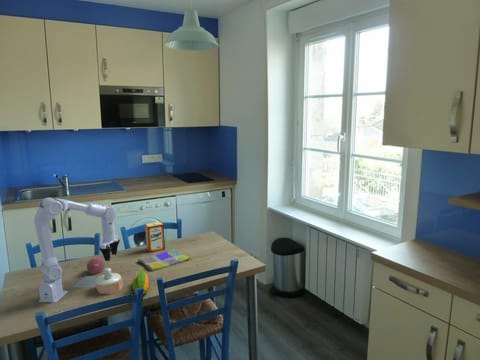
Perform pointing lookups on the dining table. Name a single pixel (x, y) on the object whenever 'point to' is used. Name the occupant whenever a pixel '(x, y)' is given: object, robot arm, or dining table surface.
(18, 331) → the dining table surface
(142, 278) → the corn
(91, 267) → the cupcake
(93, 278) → the mat
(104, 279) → the lid
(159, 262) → the dish towel
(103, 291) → the bowl
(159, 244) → the baking soda box
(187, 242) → the dining table surface
